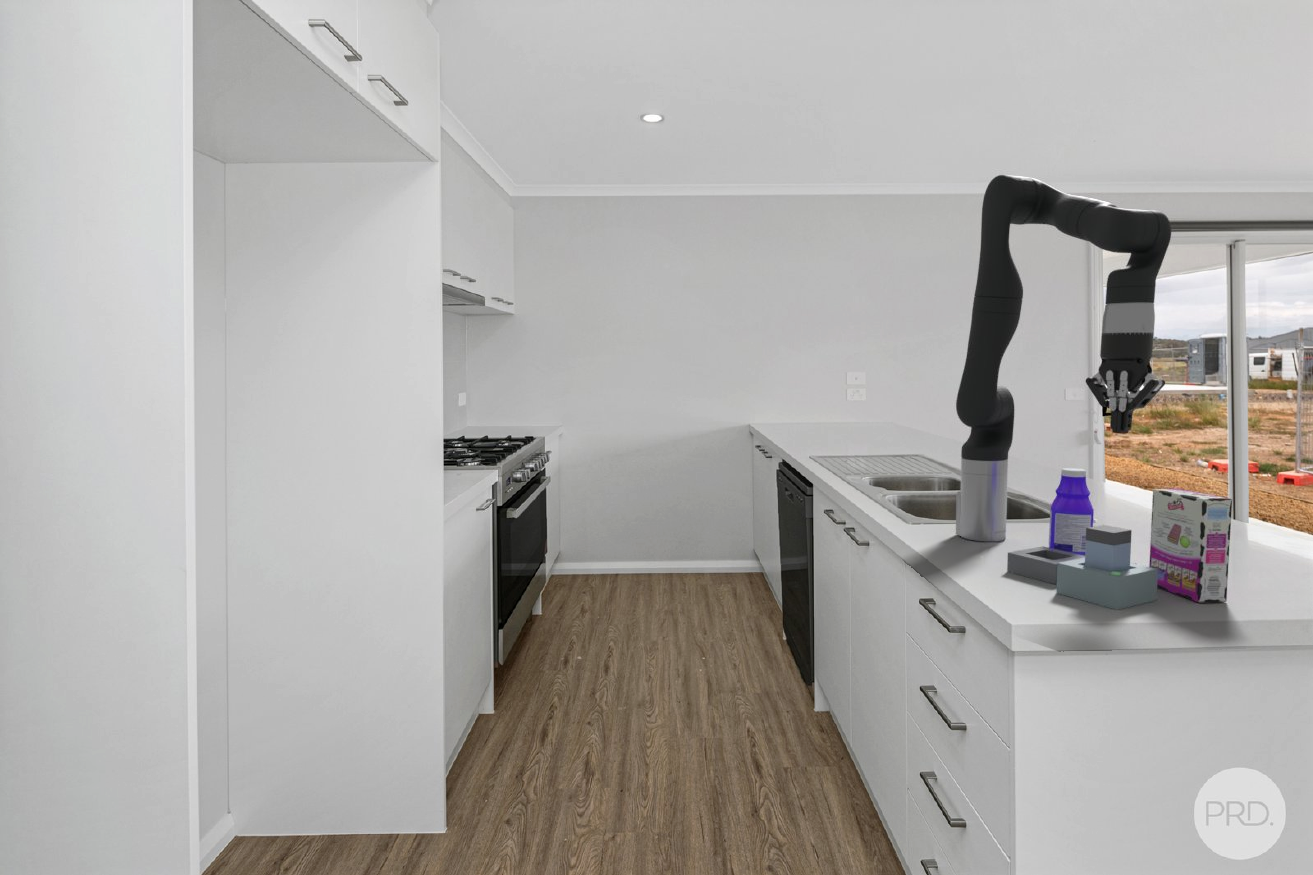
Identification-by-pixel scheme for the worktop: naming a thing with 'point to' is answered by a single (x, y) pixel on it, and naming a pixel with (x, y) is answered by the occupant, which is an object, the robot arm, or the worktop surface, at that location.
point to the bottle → (1071, 513)
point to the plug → (1108, 548)
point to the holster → (1038, 562)
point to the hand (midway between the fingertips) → (1120, 433)
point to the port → (1107, 584)
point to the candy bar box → (1191, 543)
